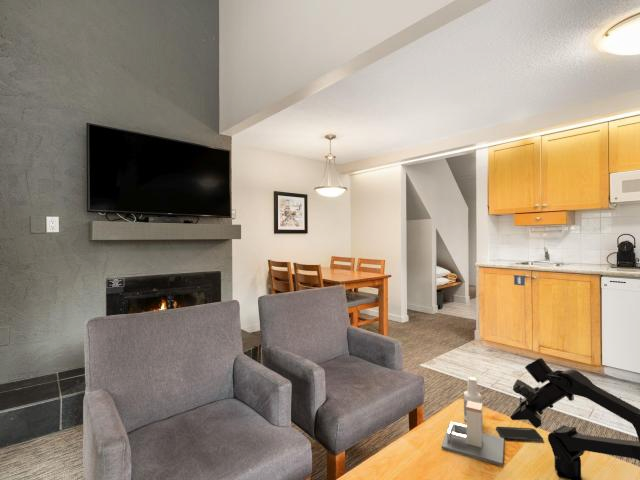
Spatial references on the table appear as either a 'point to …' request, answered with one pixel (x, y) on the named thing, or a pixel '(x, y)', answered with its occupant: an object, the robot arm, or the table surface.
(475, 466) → the table surface
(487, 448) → the base board
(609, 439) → the robot arm
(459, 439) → the friction collar
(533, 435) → the phone
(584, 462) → the table surface
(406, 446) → the table surface
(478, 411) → the tall rectangular pillar
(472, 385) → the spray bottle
